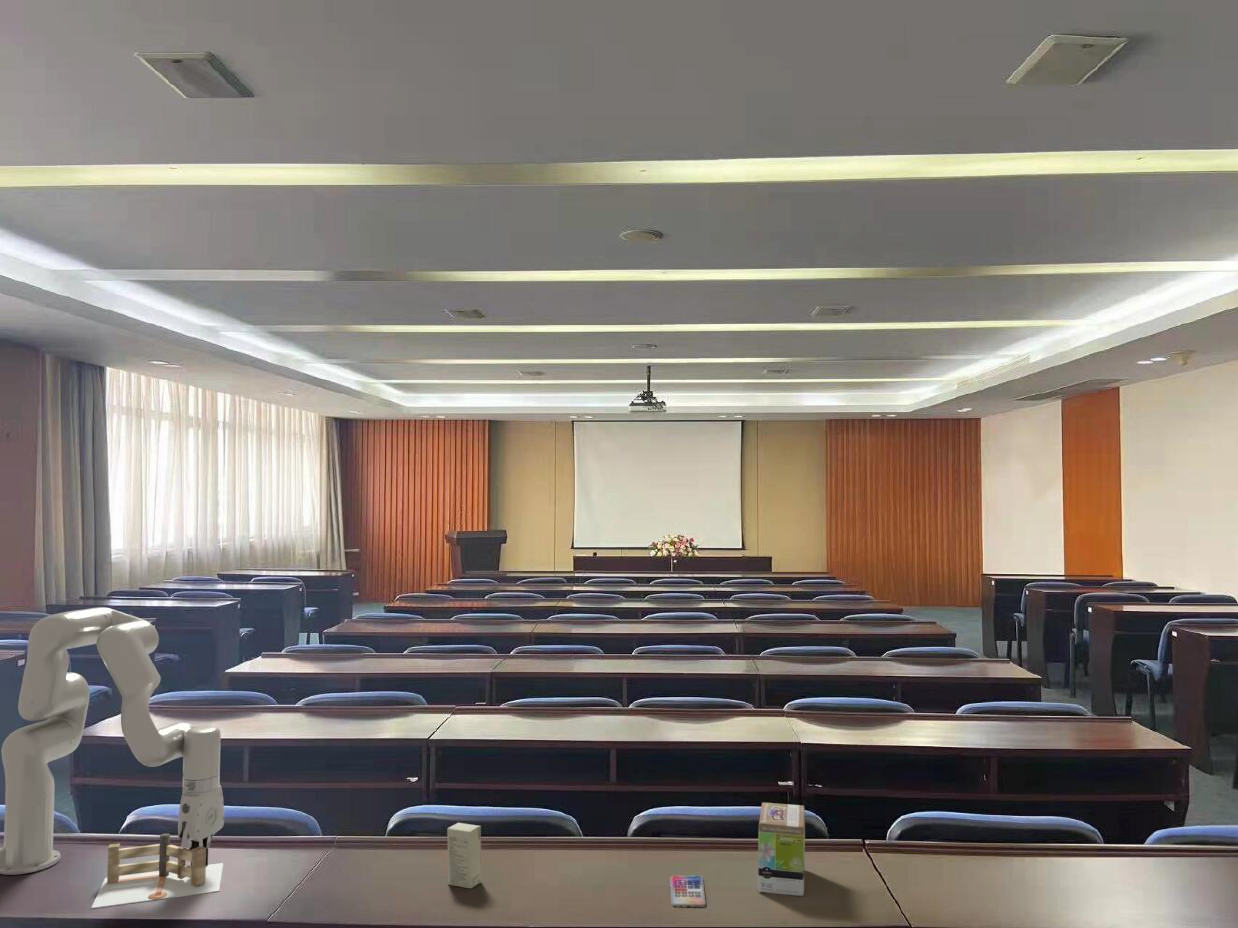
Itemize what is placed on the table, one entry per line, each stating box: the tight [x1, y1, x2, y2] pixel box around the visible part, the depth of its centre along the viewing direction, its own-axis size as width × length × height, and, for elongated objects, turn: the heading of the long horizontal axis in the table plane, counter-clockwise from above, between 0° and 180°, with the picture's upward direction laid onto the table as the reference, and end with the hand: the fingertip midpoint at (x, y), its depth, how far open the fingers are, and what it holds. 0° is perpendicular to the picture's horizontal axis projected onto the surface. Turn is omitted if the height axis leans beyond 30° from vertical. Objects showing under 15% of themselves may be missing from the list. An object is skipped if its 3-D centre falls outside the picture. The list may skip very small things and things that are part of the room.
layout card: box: [91, 862, 224, 910], centre depth 197 cm, size 24×16×1 cm
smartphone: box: [669, 875, 707, 908], centre depth 194 cm, size 7×1×15 cm
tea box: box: [757, 802, 806, 897], centre depth 200 cm, size 15×10×15 cm
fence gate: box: [166, 844, 206, 886], centre depth 199 cm, size 11×2×8 cm, turn 63°
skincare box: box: [446, 822, 482, 889], centre depth 199 cm, size 6×4×12 cm
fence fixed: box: [106, 833, 171, 884], centre depth 201 cm, size 12×2×9 cm, turn 110°
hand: (199, 867), depth 202 cm, fingers closed
